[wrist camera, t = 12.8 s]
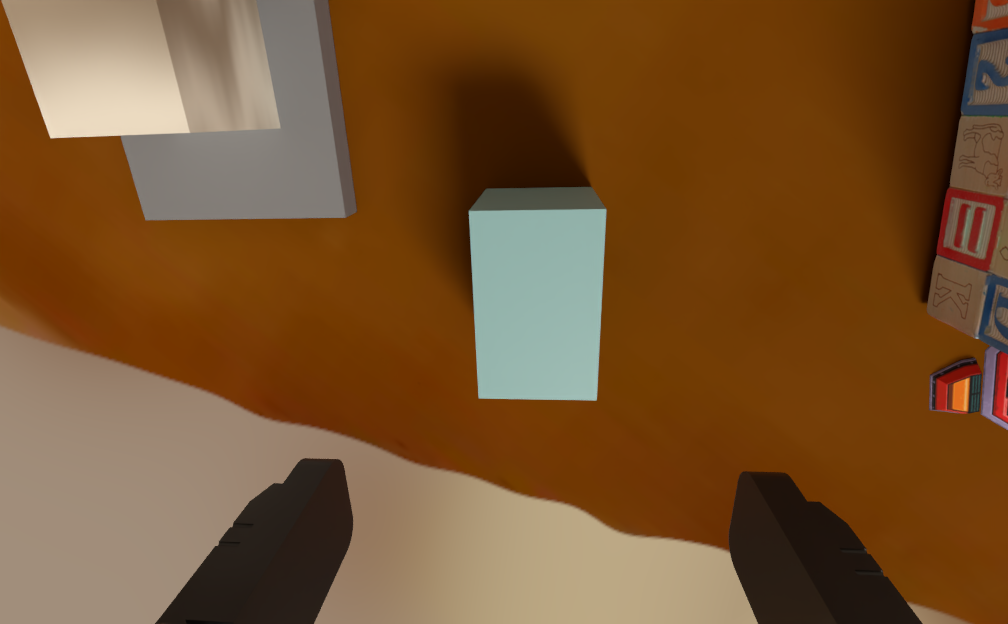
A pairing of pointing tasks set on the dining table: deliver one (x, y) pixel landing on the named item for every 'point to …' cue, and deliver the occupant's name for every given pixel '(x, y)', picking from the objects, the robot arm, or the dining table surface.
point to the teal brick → (537, 291)
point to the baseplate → (261, 139)
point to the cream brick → (145, 65)
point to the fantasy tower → (973, 387)
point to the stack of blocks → (978, 193)
